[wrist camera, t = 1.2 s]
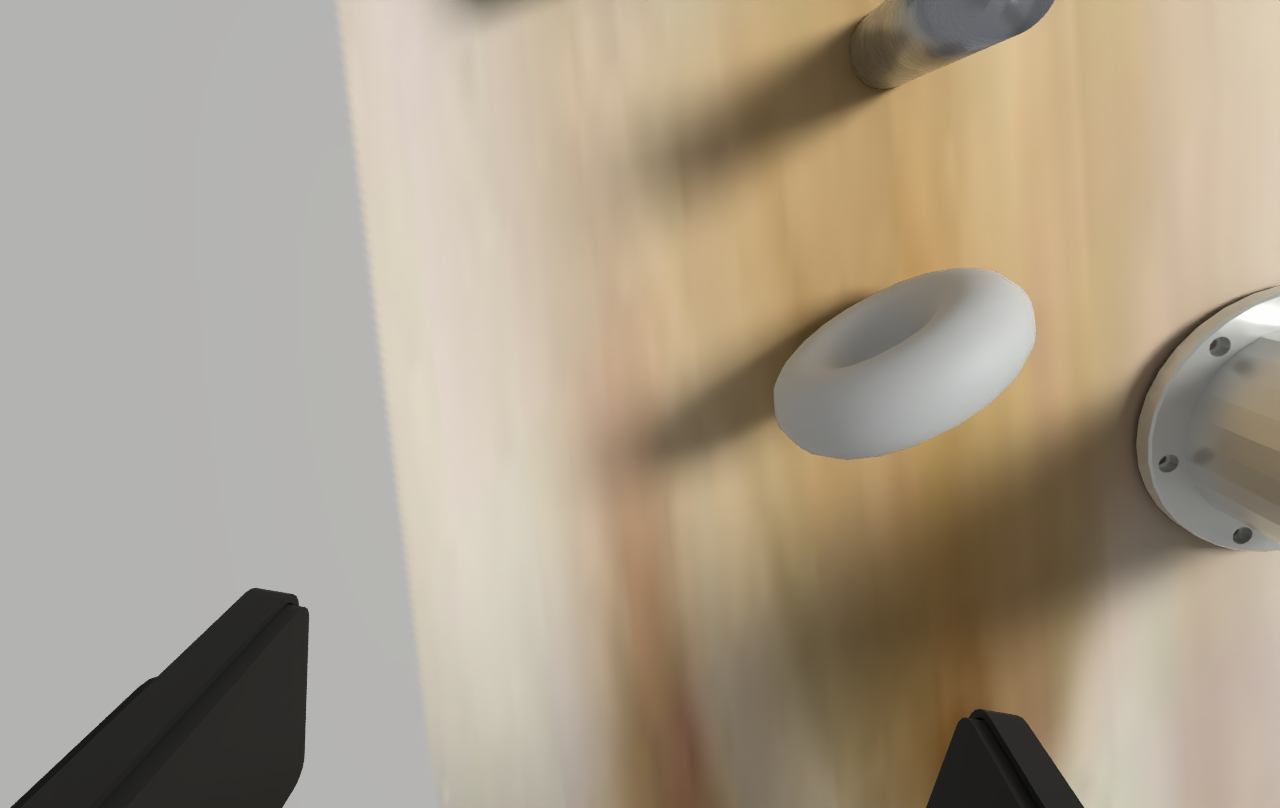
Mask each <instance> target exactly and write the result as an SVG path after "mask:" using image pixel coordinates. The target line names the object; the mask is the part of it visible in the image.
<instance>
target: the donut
mask: <svg viewBox="0 0 1280 808" xmlns="http://www.w3.org/2000/svg"><path fill="white" fill-rule="evenodd" d="M1035 334H1036V328H1035V318H1034V311H1033V307H1032V304H1031V300H1030V298H1029V297H1028V296H1027V294H1026V293H1025V292H1024V290H1023V289H1022V288H1021V287H1019V286H1018V285H1016V284H1015V283H1013V282H1012V281H1010V280H1009V279H1007V278H1005V277H1004V276H1002V275H1001V274H999V273H997V272H996V271H991V270H987V269H981V268H964V267H960V268H953V269H947V270H942V271H936V272H931V273H926V274H923V275H920V276H917V277H914V278H911V279H908V280H905V281H902V282H899V283H897V284H895V285H892V286H890V287H888V288H886V289H883V290H881V291H879V292H877V293H875V294H872V295H871V296H869V297H867V298H865V299H863V300H862V301H860V302H858V303H856V304H855V305H853V306H851V307H849V308H847V309H846V310H844V311H843V312H841V313H840V314H838V315H837V316H835V317H834V318H833V319H831V320H830V321H828V322H827V323H825V324H824V325H823V326H821V327H820V328H819V329H818V330H817V331H815V332H814V333H813V334H812V335H811V336H810V337H808V338H807V339H806V340H805V341H804V342H803V343H802V344H801V345H800V346H799V348H798V349H797V350H796V351H795V352H794V353H793V354H792V356H791V357H790V358H789V359H788V360H787V362H786V363H785V364H784V366H783V368H782V370H781V372H780V374H779V376H778V378H777V381H776V384H775V387H774V390H773V392H774V407H775V417H776V420H777V422H778V425H779V427H780V429H781V430H782V431H783V432H784V433H785V434H786V435H787V436H788V438H790V439H791V440H792V441H793V442H794V443H796V444H797V445H798V446H799V447H801V448H802V449H804V450H806V451H807V452H809V453H811V454H814V455H820V456H826V457H832V458H838V459H845V460H850V459H860V458H869V457H878V456H882V455H885V454H889V453H892V452H895V451H899V450H902V449H906V448H909V447H912V446H916V445H918V444H920V443H922V442H925V441H927V440H929V439H931V438H933V437H935V436H937V435H939V434H941V433H944V432H946V431H948V430H950V429H952V428H954V427H956V426H958V425H959V424H961V423H962V422H964V421H965V420H967V419H968V418H970V417H971V416H973V415H974V414H976V413H977V412H979V411H980V410H982V409H983V408H984V407H986V406H987V405H989V404H990V403H991V402H992V401H993V400H994V399H995V398H996V397H997V396H999V395H1000V394H1001V393H1002V392H1003V391H1004V390H1005V389H1006V388H1007V387H1008V386H1009V385H1010V384H1011V383H1012V382H1013V381H1014V380H1015V378H1016V377H1017V375H1018V373H1019V372H1020V370H1021V368H1022V366H1023V365H1024V363H1025V361H1026V359H1027V357H1028V355H1029V353H1030V352H1031V350H1032V348H1033V346H1034V342H1035Z"/></svg>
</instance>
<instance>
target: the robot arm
mask: <svg viewBox="0 0 1280 808" xmlns="http://www.w3.org/2000/svg"><path fill="white" fill-rule="evenodd" d="M1136 448H1137V457H1138V467H1139V470H1140V473H1141V476H1142V479H1143V482H1144V484H1145V487H1146V489H1147V491H1148V492H1149V494H1150V495H1151V497H1152V499H1153V500H1154V502H1155V503H1156V505H1157V506H1158V507H1159V508H1160V509H1161V510H1162V511H1163V512H1164V513H1165V514H1166V515H1167V516H1168V517H1169V518H1170V519H1171V520H1172V521H1173V522H1175V523H1177V524H1178V525H1180V526H1181V527H1183V528H1184V529H1186V530H1187V531H1189V532H1190V533H1192V534H1193V535H1195V536H1197V537H1199V538H1201V539H1204V540H1206V541H1208V542H1210V543H1212V544H1215V545H1218V546H1221V547H1225V548H1229V549H1233V550H1239V551H1258V552H1268V551H1277V550H1280V285H1279V286H1276V287H1273V288H1270V289H1267V290H1264V291H1260V292H1257V293H1254V294H1251V295H1249V296H1247V297H1245V298H1243V299H1241V300H1239V301H1237V302H1235V303H1233V304H1231V305H1229V306H1227V307H1225V308H1224V309H1222V310H1221V311H1219V312H1218V313H1216V314H1215V315H1214V316H1212V317H1211V318H1209V319H1208V320H1207V321H1205V322H1204V323H1202V324H1201V325H1199V326H1198V327H1197V328H1196V329H1195V330H1194V331H1193V332H1192V333H1191V334H1190V335H1189V336H1188V337H1187V338H1186V339H1185V340H1184V341H1183V342H1182V343H1181V344H1180V345H1179V346H1178V347H1177V348H1176V349H1175V350H1174V352H1173V353H1172V354H1171V356H1170V357H1169V358H1168V360H1167V361H1166V362H1165V364H1164V365H1163V366H1162V368H1161V369H1160V370H1159V372H1158V374H1157V376H1156V378H1155V380H1154V382H1153V384H1152V386H1151V387H1150V389H1149V391H1148V393H1147V395H1146V398H1145V402H1144V405H1143V408H1142V411H1141V414H1140V417H1139V423H1138V432H1137V441H1136ZM308 629H309V612H308V609H307V608H305V607H301V606H299V603H298V599H297V597H296V596H295V595H293V594H289V593H283V592H277V591H271V590H265V589H259V588H253V589H250V590H249V591H247V592H246V593H245V594H244V595H243V596H242V597H241V598H240V599H239V600H237V601H236V602H235V603H234V604H233V605H232V606H231V607H230V608H229V609H228V610H227V611H226V612H225V613H224V614H223V615H222V616H221V617H220V618H219V619H218V620H216V621H215V622H214V623H213V624H212V625H211V626H210V627H209V628H208V629H207V630H206V631H205V632H204V633H203V634H202V635H201V636H200V637H199V638H198V639H197V640H196V641H194V642H193V643H192V644H191V645H190V646H189V647H188V648H187V649H186V650H185V651H184V652H183V653H182V654H181V655H180V656H179V657H178V658H177V659H176V660H175V661H174V662H173V663H171V664H170V665H169V666H168V667H167V668H166V669H165V670H164V671H163V672H162V673H161V674H160V675H159V676H158V677H155V678H151V679H149V680H148V681H146V682H145V683H144V684H142V685H141V686H140V687H139V688H137V689H136V690H135V691H134V692H133V693H132V694H131V695H130V696H129V697H128V698H127V699H125V701H123V702H122V703H121V704H120V705H119V706H118V707H117V708H116V709H115V710H114V711H113V712H112V713H111V714H110V715H108V717H106V718H105V719H104V720H103V721H102V722H101V723H100V724H99V725H98V726H97V727H96V728H95V729H94V730H93V731H92V732H90V733H89V734H88V735H87V736H86V737H85V738H84V739H83V740H82V741H81V742H80V743H79V744H78V745H77V746H75V747H74V748H73V749H72V750H71V751H70V752H69V753H68V754H67V755H66V756H65V757H64V758H63V759H62V760H61V761H60V762H58V763H57V764H56V765H55V766H54V767H53V768H52V769H51V770H50V771H49V772H48V773H47V774H46V775H45V776H44V777H43V778H41V779H40V780H39V781H38V782H37V783H36V784H35V785H34V786H33V787H32V788H31V789H30V790H29V791H28V792H27V793H26V794H25V795H23V796H22V797H21V798H20V799H19V800H18V801H17V802H16V803H15V804H14V805H13V806H12V807H11V808H282V807H283V805H284V804H285V802H286V800H287V799H288V797H289V796H290V794H291V793H292V791H293V789H294V787H295V786H296V784H297V782H298V779H299V777H300V774H301V771H302V768H303V763H304V753H305V723H306V721H305V720H306V692H307V691H306V690H307V662H308V660H307V659H308V632H309V630H308ZM926 808H1084V807H1083V805H1082V804H1081V802H1080V801H1079V799H1078V798H1077V796H1076V795H1075V793H1074V792H1073V790H1072V789H1071V788H1070V786H1069V785H1068V783H1067V782H1066V780H1065V779H1064V777H1063V776H1062V774H1061V773H1060V771H1059V770H1058V768H1057V767H1056V765H1055V764H1054V762H1053V761H1052V759H1051V758H1050V756H1049V755H1048V753H1047V752H1046V751H1045V749H1044V748H1043V746H1042V745H1041V743H1040V742H1039V740H1038V739H1037V737H1036V736H1035V734H1034V733H1033V731H1032V730H1031V728H1030V727H1029V725H1028V724H1027V723H1026V722H1025V720H1024V719H1023V718H1021V717H1019V716H1017V715H1012V714H1006V713H1000V712H994V711H988V710H982V709H978V710H975V711H974V712H972V713H971V715H970V717H969V718H962V719H961V720H960V721H959V722H958V724H957V726H956V729H955V732H954V734H953V737H952V740H951V742H950V745H949V748H948V750H947V753H946V756H945V759H944V761H943V764H942V767H941V769H940V772H939V775H938V777H937V780H936V783H935V786H934V788H933V791H932V794H931V796H930V799H929V802H928V804H927V807H926Z"/></svg>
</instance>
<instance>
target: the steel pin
mask: <svg viewBox="0 0 1280 808" xmlns="http://www.w3.org/2000/svg"><path fill="white" fill-rule="evenodd" d="M1053 2H1054V0H885V1H884V2H883V3H882V4H881V5H879V6H878V7H877V8H876V9H874V10H873V11H872V12H871V13H870V14H868V15H867V16H866V17H865V18H864V19H863V20H862V21H861V22H860V23H859V25H858V26H857V28H856V29H855V31H854V33H853V36H852V39H851V43H850V51H849V53H850V62H851V65H852V68H853V70H854V72H855V74H856V75H857V76H858V78H859V79H860V80H861V81H862V82H864V83H865V84H867V85H868V86H871V87H873V88H877V89H889V88H893V87H896V86H899V85H901V84H903V83H906V82H908V81H910V80H913V79H915V78H917V77H920V76H922V75H925V74H927V73H929V72H932V71H934V70H936V69H939V68H941V67H943V66H946V65H948V64H950V63H953V62H955V61H957V60H960V59H962V58H964V57H967V56H969V55H971V54H974V53H976V52H978V51H981V50H983V49H985V48H988V47H990V46H992V45H995V44H997V43H999V42H1002V41H1004V40H1006V39H1009V38H1011V37H1013V36H1016V35H1018V34H1020V33H1022V32H1024V31H1026V30H1028V29H1029V28H1031V27H1032V26H1033V25H1035V24H1036V23H1037V22H1038V21H1039V20H1040V19H1041V18H1042V17H1043V16H1044V15H1045V14H1046V12H1047V11H1048V10H1049V8H1050V7H1051V5H1052V4H1053Z"/></svg>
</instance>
